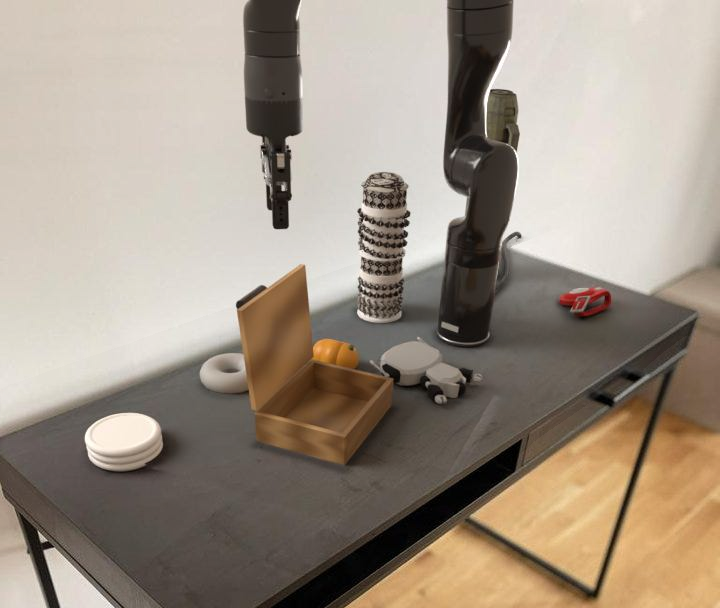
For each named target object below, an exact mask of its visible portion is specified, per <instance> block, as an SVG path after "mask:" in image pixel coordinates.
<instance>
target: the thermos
mask: <svg viewBox="0 0 720 608" xmlns="http://www.w3.org/2000/svg"><path fill="white" fill-rule="evenodd" d="M519 112H520V111H519V102H518V97H517V94H516V93H514V91H512V90H510V89H503V88H491V89H490V92H489V95H488V100H487V108H486V134H487V137H488V138H491V139H494V140H497V141H500V142H503V143H506V144H508V145H510V146H511V147H512V148H513V149H514V150H515V152H516V154H517V155H518V153H517V152H518V146H519V143H520V142H519V141H520V135H521V133H520V128H519V124H518V117H519ZM468 204H469V198H468V197H466V203H465V211H464V216H466V214H467V209H468ZM502 247H503V244H501V251H500V258H499V266H498V268H499V267H500V265H501V260H502ZM498 274H499V272H498V273H497V276H498Z"/></svg>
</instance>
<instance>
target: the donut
mask: <svg viewBox="0 0 720 608" xmlns="http://www.w3.org/2000/svg"><path fill="white" fill-rule="evenodd" d="M199 378H200V382H201V383H202V385H203V386H204V387H205V388H206V389H207V390H209V391H211V392H214V393H220V394H228V395H229V394H230V395H231V394H232V395H233V394H240V393H241V394H242V393H244V392H249V388H248V381H247V375H246V368H245V361H244V355H243V353H239V352H238V353H237V352H230V353H221V354H217V355H214V356H212V357H210V358H208V359H207V360H206V361H205V362H204V363H202V365H201V368H200V370H199Z"/></svg>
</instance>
